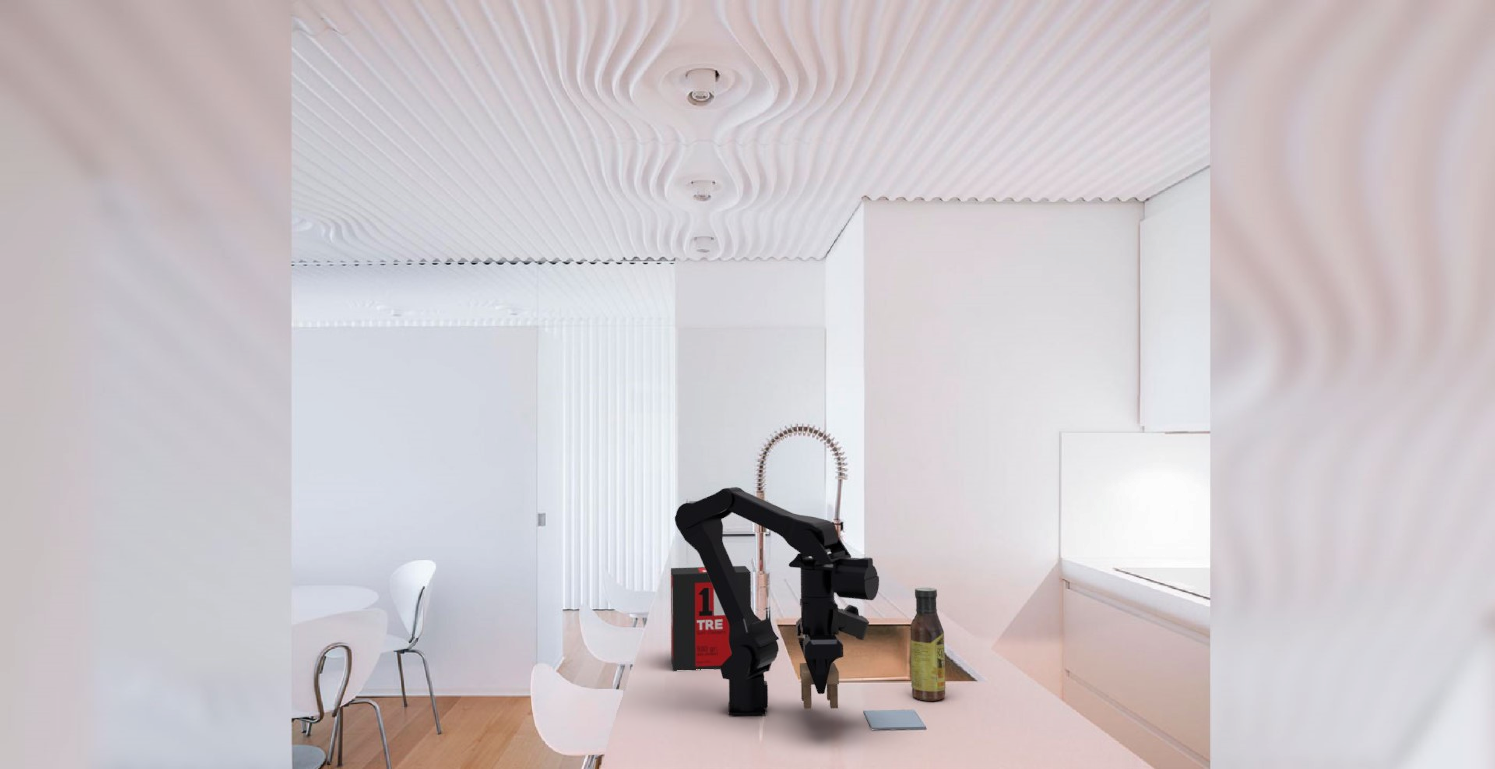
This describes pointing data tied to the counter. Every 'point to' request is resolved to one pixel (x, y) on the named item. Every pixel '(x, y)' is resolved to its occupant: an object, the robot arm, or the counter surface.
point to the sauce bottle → (927, 648)
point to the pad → (894, 719)
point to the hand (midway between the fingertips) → (819, 688)
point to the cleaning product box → (700, 619)
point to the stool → (808, 681)
